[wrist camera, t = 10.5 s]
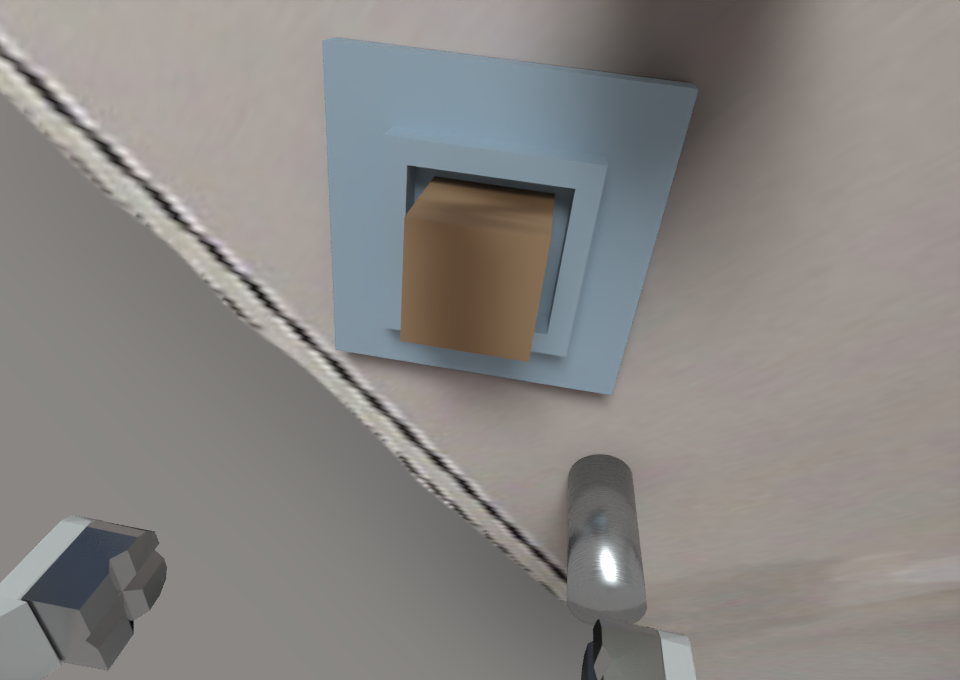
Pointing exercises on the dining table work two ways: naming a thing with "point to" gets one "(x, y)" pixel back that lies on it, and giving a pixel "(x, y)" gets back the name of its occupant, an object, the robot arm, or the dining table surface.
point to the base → (505, 162)
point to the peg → (604, 543)
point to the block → (475, 267)
